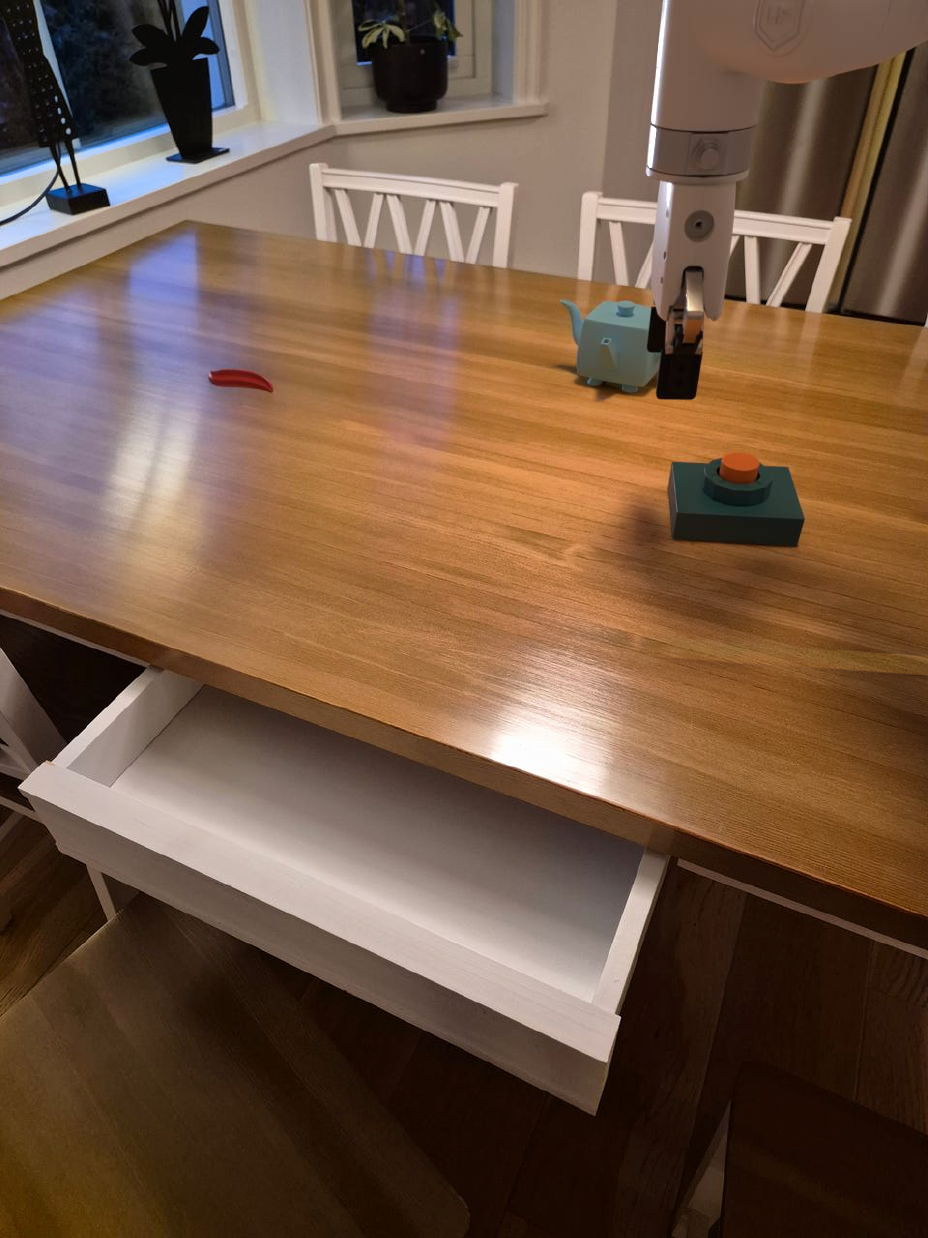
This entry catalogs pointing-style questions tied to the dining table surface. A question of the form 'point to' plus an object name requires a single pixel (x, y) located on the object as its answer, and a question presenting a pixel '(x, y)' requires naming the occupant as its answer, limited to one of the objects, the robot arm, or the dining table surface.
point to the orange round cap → (739, 468)
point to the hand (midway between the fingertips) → (669, 373)
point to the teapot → (614, 344)
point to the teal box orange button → (734, 505)
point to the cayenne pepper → (239, 379)
